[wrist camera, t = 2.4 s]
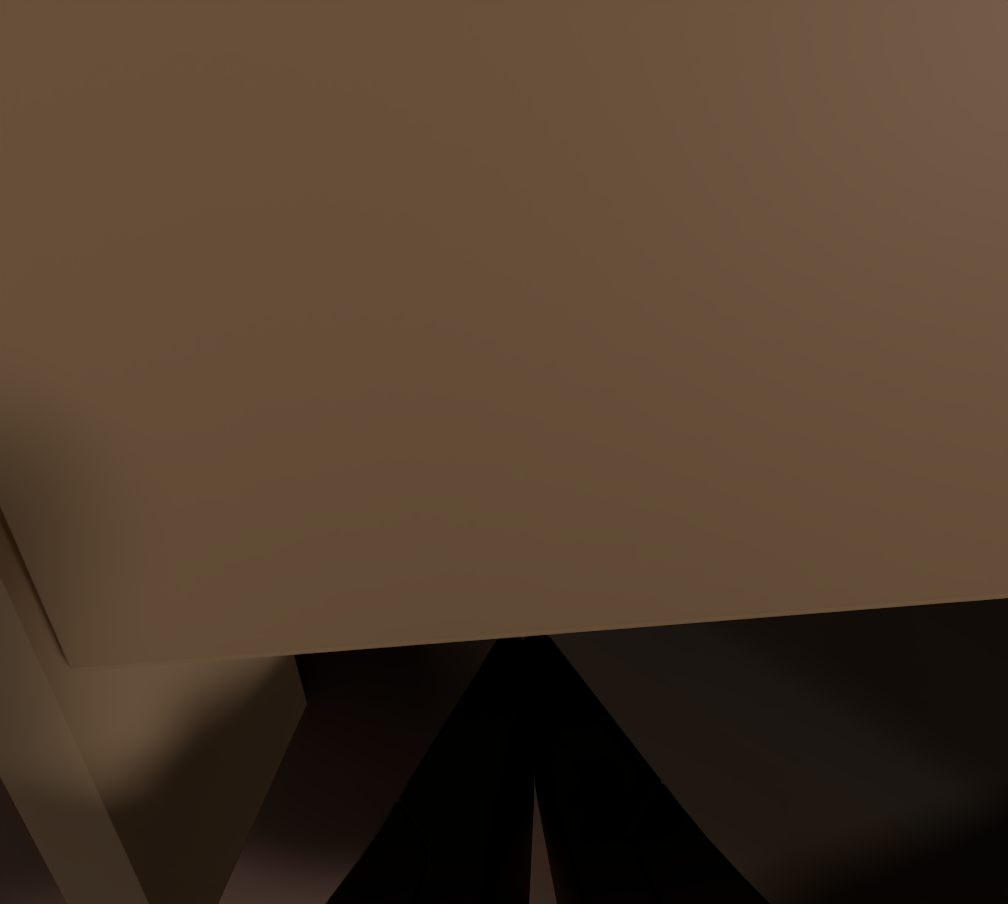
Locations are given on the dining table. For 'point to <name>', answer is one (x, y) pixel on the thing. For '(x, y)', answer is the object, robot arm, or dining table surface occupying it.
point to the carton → (498, 316)
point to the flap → (135, 757)
